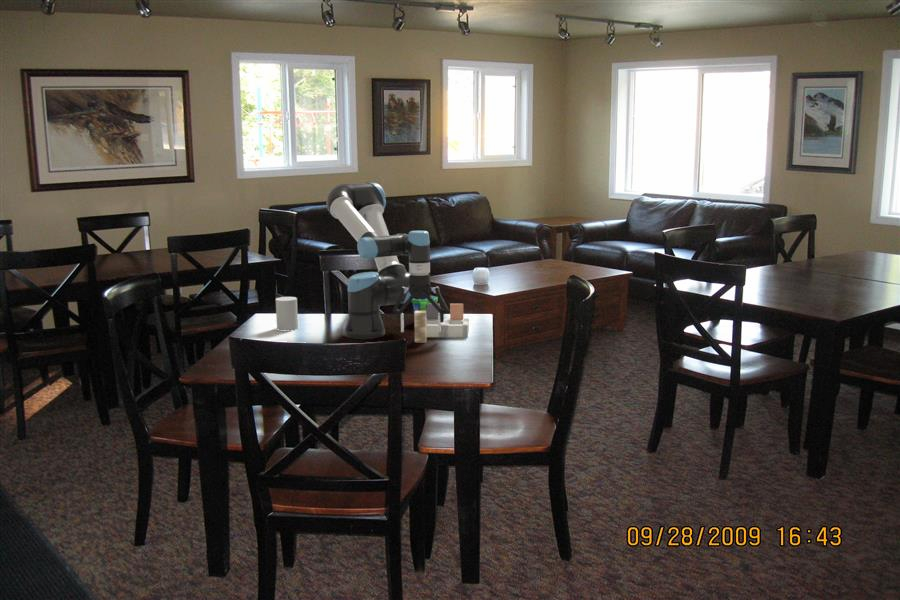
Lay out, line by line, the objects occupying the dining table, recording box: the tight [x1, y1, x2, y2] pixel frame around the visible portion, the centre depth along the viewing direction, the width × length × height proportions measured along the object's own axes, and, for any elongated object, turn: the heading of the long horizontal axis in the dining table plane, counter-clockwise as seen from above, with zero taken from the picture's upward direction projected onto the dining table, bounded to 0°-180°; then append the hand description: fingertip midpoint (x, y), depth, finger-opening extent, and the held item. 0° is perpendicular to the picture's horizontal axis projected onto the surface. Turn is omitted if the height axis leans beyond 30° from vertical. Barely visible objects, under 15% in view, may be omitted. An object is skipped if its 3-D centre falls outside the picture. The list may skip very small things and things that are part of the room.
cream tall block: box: [413, 311, 428, 344], centre depth 307 cm, size 4×4×11 cm
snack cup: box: [411, 295, 439, 318], centre depth 338 cm, size 16×10×10 cm
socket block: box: [426, 303, 470, 338], centre depth 319 cm, size 18×12×10 cm, turn 87°
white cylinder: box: [275, 296, 299, 331], centre depth 329 cm, size 8×8×12 cm
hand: (421, 331), depth 307 cm, fingers open, 13 cm apart
